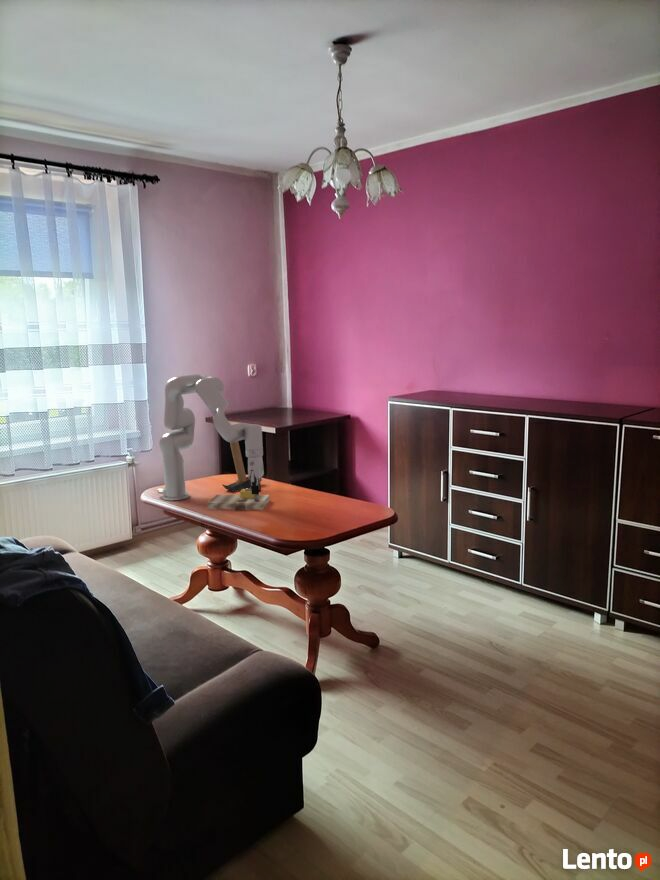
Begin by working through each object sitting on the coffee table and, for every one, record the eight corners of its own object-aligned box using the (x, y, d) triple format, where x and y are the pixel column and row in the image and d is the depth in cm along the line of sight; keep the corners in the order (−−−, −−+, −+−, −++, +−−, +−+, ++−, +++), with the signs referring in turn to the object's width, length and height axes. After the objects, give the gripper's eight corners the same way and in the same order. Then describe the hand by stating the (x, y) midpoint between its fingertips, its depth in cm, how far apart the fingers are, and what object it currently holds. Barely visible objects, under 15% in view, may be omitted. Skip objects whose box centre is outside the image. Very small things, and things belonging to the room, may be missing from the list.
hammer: (229, 497, 314) (216, 439, 306) (224, 495, 318) (210, 438, 309) (262, 482, 327) (250, 426, 318) (256, 480, 330) (244, 425, 322)
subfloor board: (206, 510, 285) (206, 503, 284) (218, 499, 301) (217, 493, 301) (261, 510, 281) (261, 504, 281) (270, 500, 298) (270, 494, 298)
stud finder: (240, 498, 292) (240, 491, 291) (243, 495, 297) (242, 488, 296) (253, 498, 291) (252, 491, 290) (255, 495, 296) (255, 488, 295)
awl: (252, 501, 285) (251, 475, 283) (254, 499, 288) (252, 473, 286) (259, 501, 285) (257, 475, 283) (260, 499, 288) (259, 473, 286)
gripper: (258, 456, 274) (260, 498, 278) (266, 448, 290) (268, 488, 294) (241, 456, 275) (243, 497, 279) (250, 449, 291) (252, 488, 295)
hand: (256, 492), depth 286 cm, fingers closed on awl, 3 cm apart
